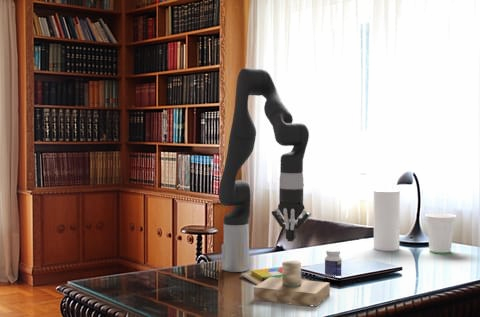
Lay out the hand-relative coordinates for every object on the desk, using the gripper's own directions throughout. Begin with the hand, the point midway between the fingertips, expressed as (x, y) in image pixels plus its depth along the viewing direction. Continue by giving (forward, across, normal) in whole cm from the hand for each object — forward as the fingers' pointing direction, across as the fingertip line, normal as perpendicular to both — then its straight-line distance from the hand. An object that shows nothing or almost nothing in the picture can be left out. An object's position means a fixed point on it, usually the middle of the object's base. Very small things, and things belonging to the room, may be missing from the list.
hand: (290, 240), depth 205 cm
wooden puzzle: (+18, -11, +14) cm, 26 cm away
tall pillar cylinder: (+18, +12, +84) cm, 86 cm away
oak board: (+17, +2, -4) cm, 18 cm away
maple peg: (+16, +2, -4) cm, 17 cm away
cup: (+18, +34, +85) cm, 93 cm away
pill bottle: (+17, +7, +24) cm, 30 cm away
